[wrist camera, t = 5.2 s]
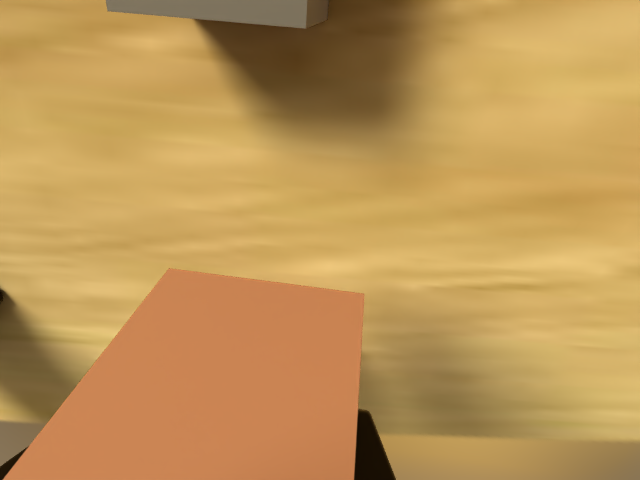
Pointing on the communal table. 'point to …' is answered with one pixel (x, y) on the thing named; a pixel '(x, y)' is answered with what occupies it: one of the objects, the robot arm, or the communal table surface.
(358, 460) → the robot arm
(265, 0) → the gray block
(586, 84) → the communal table surface
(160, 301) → the terracotta block
